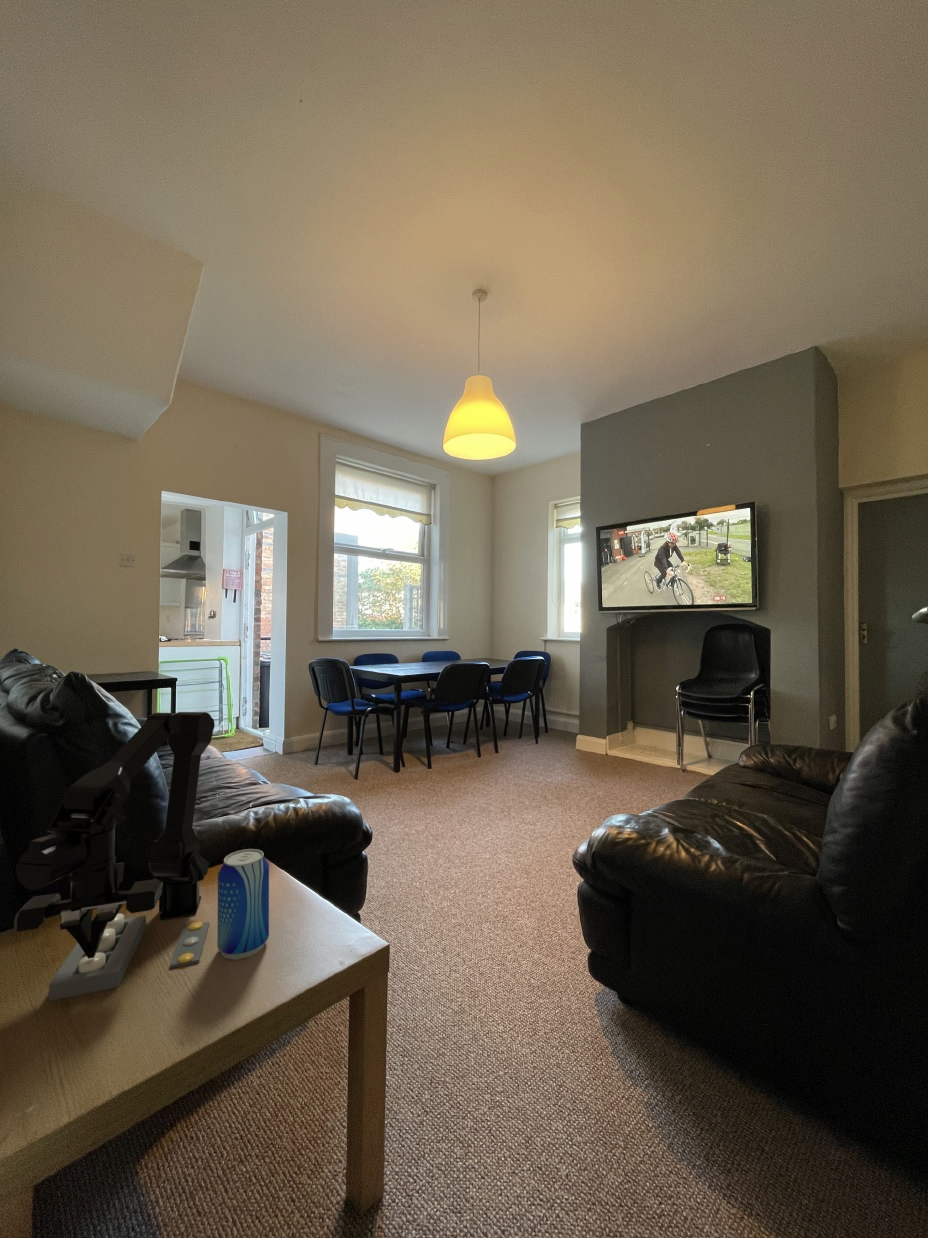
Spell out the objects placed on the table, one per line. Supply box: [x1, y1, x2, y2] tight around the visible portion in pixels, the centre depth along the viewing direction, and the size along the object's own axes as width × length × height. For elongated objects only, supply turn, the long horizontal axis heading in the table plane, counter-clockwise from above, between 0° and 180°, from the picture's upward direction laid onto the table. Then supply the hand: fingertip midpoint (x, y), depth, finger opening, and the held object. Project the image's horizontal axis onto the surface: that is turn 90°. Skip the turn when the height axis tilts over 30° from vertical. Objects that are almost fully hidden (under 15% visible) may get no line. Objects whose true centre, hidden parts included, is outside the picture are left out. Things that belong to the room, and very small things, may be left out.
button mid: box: [97, 928, 115, 953], centre depth 88 cm, size 4×4×2 cm
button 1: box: [79, 952, 106, 974], centre depth 83 cm, size 4×4×2 cm
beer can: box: [216, 848, 270, 961], centre depth 92 cm, size 8×8×16 cm
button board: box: [48, 915, 147, 1002], centre depth 88 cm, size 9×17×2 cm, turn 19°
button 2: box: [105, 913, 125, 936], centre depth 93 cm, size 4×4×2 cm
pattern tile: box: [169, 921, 210, 969], centre depth 92 cm, size 4×12×1 cm, turn 19°
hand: (92, 956), depth 83 cm, fingers closed
